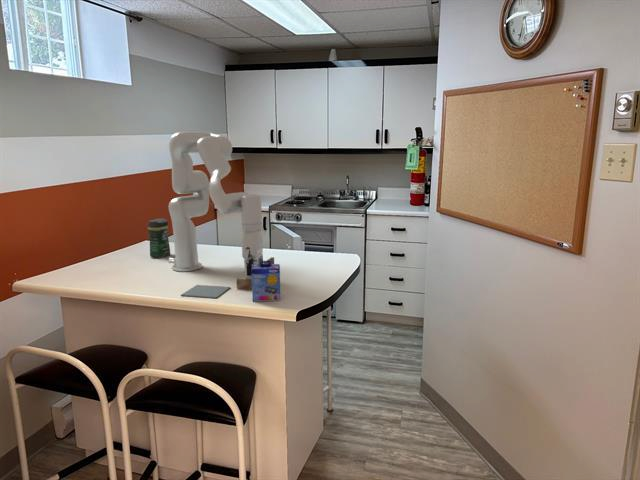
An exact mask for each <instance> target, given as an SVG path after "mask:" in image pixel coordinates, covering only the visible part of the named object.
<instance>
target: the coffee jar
mask: <svg viewBox="0 0 640 480" xmlns="http://www.w3.org/2000/svg"><path fill="white" fill-rule="evenodd" d="M168 223H169V222H168V219H166V218H161V217H160V218H155V219H151V220H149V221H148V222H147V230H148V235H149V256H150V258H153V259H161V258H162V257H163V258H165V256H166V257H168V256H170V255H171V248H170V239H169V234H168V233H169V231H168V230H169V224H168Z"/></svg>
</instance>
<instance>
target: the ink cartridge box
mask: <svg viewBox="0 0 640 480" xmlns="http://www.w3.org/2000/svg"><path fill="white" fill-rule="evenodd" d="M264 262H267V263H269V264H262V263H264ZM280 267H281V265H280V263H279V264H278V263H274V264H271V262H270V261H267V260H263V261H260V265H252V269H251V271H252V290H251V291H252V292H251V293H252V302H253V303H254V302H256V303H257V302H259V303H260V302H280V301H281V298H282V297H281V296H282V294H281V293H282V291H281V268H280ZM279 300H280V301H279Z"/></svg>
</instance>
